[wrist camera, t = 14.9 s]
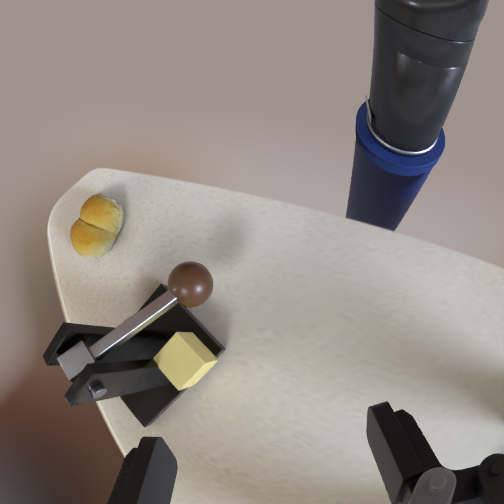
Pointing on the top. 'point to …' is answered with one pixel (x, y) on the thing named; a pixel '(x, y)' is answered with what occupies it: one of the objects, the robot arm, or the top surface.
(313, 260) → the top surface
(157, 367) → the slicer
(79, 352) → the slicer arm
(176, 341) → the butter
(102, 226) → the bread roll
